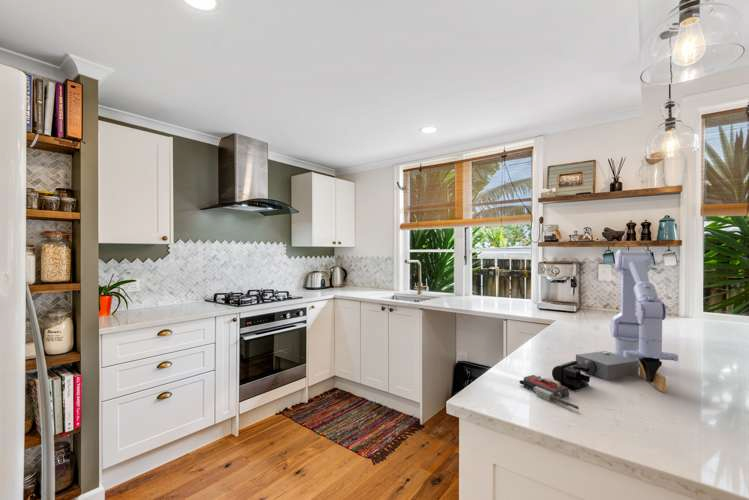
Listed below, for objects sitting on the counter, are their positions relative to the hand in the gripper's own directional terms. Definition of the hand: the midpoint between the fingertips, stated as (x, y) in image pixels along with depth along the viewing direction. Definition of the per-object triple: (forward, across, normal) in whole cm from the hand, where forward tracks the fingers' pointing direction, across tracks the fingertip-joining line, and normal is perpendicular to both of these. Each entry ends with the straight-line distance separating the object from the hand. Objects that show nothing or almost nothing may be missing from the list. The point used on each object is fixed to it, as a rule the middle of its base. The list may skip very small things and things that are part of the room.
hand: (649, 381), depth 110 cm
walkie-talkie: (+2, -33, -14) cm, 36 cm away
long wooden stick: (+1, +2, +2) cm, 3 cm away
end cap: (+2, -24, -4) cm, 25 cm away
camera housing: (+2, -7, +12) cm, 14 cm away
